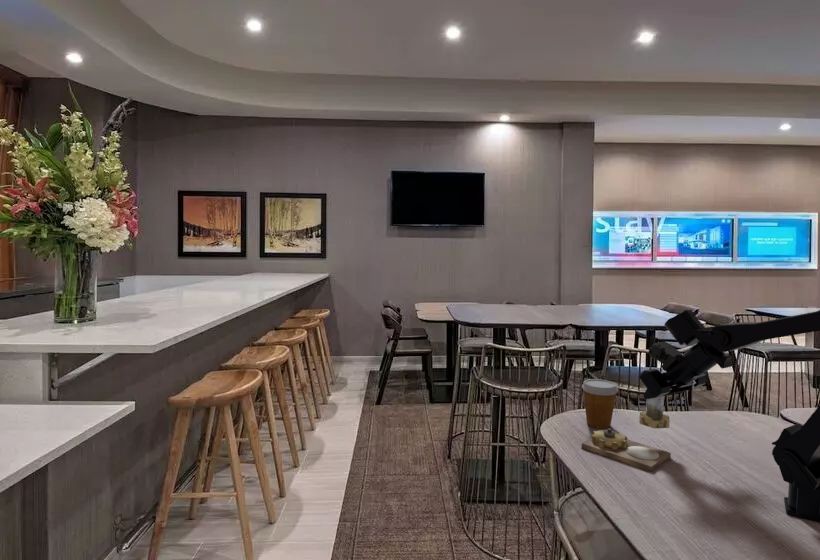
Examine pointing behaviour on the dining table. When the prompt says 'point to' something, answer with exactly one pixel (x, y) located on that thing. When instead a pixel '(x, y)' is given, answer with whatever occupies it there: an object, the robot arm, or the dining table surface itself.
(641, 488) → the dining table surface
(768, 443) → the dining table surface
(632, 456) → the gear board
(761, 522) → the dining table surface
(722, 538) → the dining table surface
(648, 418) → the pinion
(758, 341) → the robot arm
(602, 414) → the disposable coffee cup
